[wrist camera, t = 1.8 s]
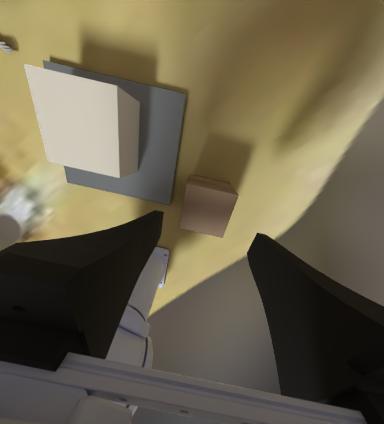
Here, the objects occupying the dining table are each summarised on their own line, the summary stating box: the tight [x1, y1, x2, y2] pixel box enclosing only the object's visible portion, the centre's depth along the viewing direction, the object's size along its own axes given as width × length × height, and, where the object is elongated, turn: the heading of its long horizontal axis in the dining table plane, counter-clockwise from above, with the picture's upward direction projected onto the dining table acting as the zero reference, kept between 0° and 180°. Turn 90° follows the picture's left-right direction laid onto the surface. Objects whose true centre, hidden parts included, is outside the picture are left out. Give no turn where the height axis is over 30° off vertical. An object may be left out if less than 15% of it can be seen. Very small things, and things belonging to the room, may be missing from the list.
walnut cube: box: [178, 174, 239, 238], centre depth 16 cm, size 5×5×5 cm
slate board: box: [43, 60, 186, 205], centre depth 16 cm, size 12×14×1 cm
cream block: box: [24, 64, 140, 178], centre depth 13 cm, size 7×7×4 cm
